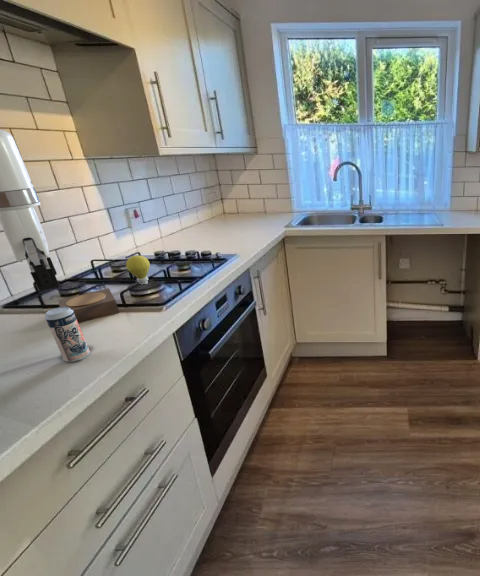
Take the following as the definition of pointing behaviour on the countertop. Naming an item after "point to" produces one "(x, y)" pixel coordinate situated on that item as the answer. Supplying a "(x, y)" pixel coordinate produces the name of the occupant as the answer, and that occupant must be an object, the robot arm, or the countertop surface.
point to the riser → (91, 305)
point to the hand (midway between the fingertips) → (48, 282)
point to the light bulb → (138, 268)
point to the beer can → (67, 334)
